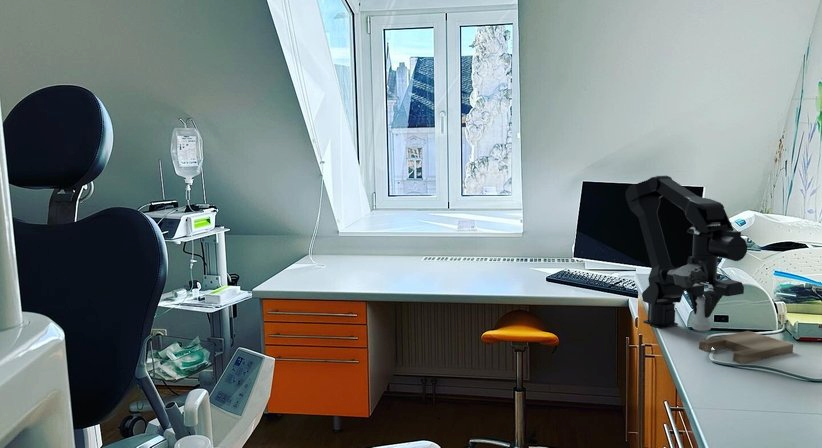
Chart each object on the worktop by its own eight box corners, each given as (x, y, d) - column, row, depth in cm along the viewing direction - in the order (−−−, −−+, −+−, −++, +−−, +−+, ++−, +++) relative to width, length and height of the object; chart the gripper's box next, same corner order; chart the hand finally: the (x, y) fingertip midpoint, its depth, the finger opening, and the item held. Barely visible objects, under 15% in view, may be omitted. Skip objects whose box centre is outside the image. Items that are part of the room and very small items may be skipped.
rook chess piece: (705, 326, 171) (707, 294, 170) (714, 331, 167) (716, 299, 166) (688, 326, 171) (689, 295, 170) (696, 331, 167) (697, 299, 166)
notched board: (699, 348, 164) (699, 340, 164) (747, 338, 171) (748, 330, 171) (742, 364, 153) (742, 355, 153) (792, 352, 161) (793, 344, 160)
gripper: (651, 250, 171) (649, 310, 174) (713, 263, 155) (709, 330, 157) (684, 246, 176) (681, 305, 178) (747, 258, 159) (743, 323, 162)
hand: (701, 315), depth 169 cm, fingers closed on rook chess piece, 3 cm apart
